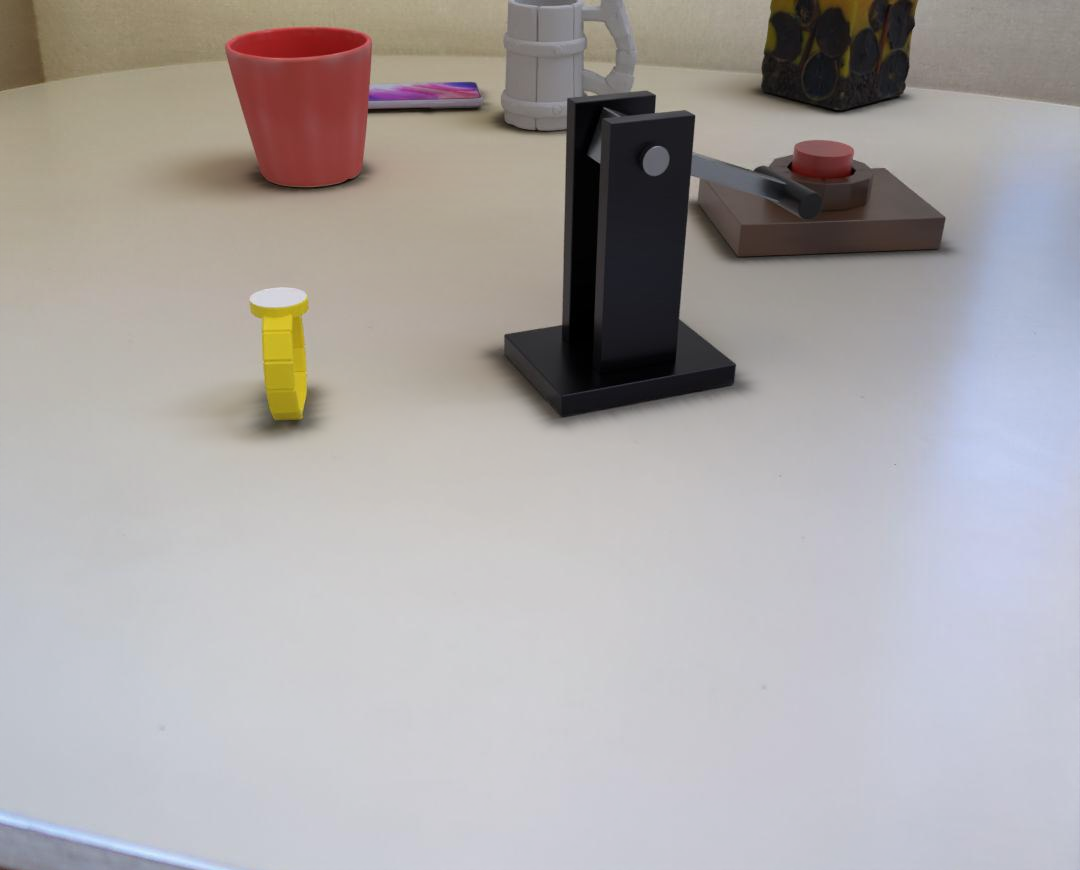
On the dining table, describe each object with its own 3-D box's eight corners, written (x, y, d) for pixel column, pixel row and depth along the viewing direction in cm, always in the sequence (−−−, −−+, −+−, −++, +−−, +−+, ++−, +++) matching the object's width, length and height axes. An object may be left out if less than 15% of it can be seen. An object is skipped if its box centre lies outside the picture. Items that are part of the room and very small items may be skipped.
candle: (823, 76, 122) (838, -33, 116) (907, 96, 115) (927, -18, 110) (756, 91, 116) (768, -22, 110) (840, 113, 110) (857, -6, 104)
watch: (315, 436, 59) (302, 322, 55) (257, 438, 58) (241, 323, 55) (322, 380, 64) (311, 273, 60) (269, 382, 63) (255, 274, 60)
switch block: (880, 196, 90) (889, 142, 88) (940, 249, 81) (952, 190, 79) (697, 203, 88) (701, 147, 86) (737, 257, 79) (743, 197, 77)
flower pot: (214, 186, 90) (194, 49, 85) (282, 147, 99) (268, 20, 94) (343, 201, 88) (332, 61, 82) (401, 160, 96) (395, 30, 91)
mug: (508, 107, 110) (508, -37, 104) (637, 113, 109) (645, -32, 102) (493, 129, 104) (491, -23, 97) (629, 137, 103) (637, -17, 96)
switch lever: (761, 202, 66) (778, 160, 65) (812, 232, 62) (831, 187, 61) (574, 147, 60) (590, 99, 59) (617, 176, 56) (636, 125, 55)
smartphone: (317, 84, 113) (476, 81, 115) (318, 94, 113) (477, 90, 115) (315, 102, 107) (483, 98, 109) (316, 112, 107) (483, 108, 109)
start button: (838, 164, 85) (842, 139, 84) (858, 181, 81) (862, 155, 80) (783, 166, 84) (786, 140, 83) (801, 183, 81) (805, 157, 80)
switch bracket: (664, 326, 70) (682, 78, 62) (734, 384, 64) (764, 117, 56) (503, 353, 67) (501, 95, 59) (561, 417, 61) (568, 138, 53)
